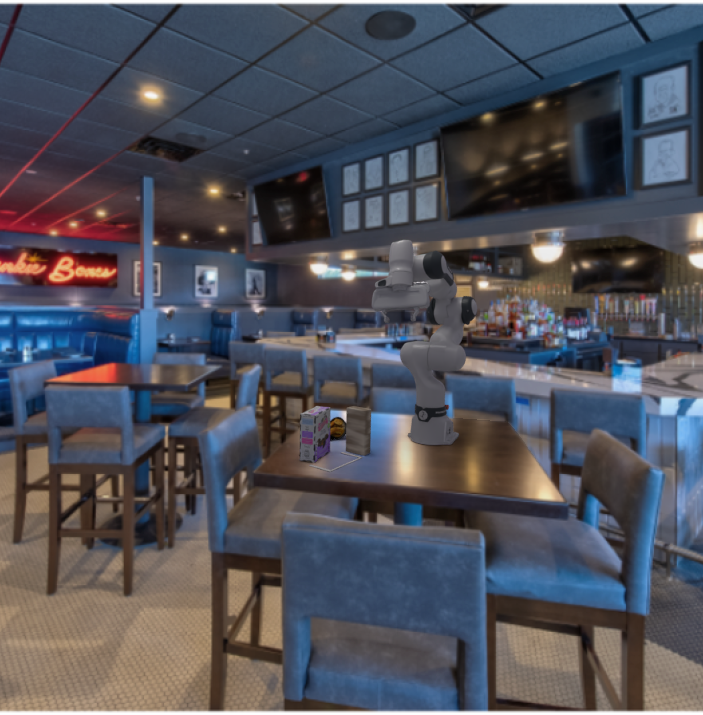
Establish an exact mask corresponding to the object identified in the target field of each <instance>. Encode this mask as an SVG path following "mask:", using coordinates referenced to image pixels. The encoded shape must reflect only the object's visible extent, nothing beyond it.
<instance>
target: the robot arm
mask: <svg viewBox="0 0 703 715" xmlns="http://www.w3.org/2000/svg"><path fill="white" fill-rule="evenodd" d="M388 255H389V256H388V267H389V272H388V275H387V276H386V277H385V278H382V279H380V280H378V281H376V282H375V284H374V287H375V290H374V291H373V293H372V298H371V308H372V309H373V311H375V312H378V313H379V312H381V314H382V316H383V322H384V323H385V324H389V323H390V322H391V321H390V319H391V318H390V317H389V316H387V315H386V314H388V312H390V311H404V310H413V311H414V313H413V314H412V315H410V321H411V322H416V321H417V316H418V315H419V313H420V309H426V319H427V320H428V322H429V323H430V324H431V325H434V326H435V325H436V326H438V325H439V326H440V327H438V328H437V330H436V331H434V333H433V334H432V335H431V336H430V339H429V341H424V340H423V341H422V340H415V341H408V342H405V343H404V344H403V345H402V347H401V349H400V352H399V358H400V361H401V363H402V365H403V366H404V367H406V369H408V371H409V372H410V374H411V376H412V377H413V380H414V382H415V392H416V393H415V394H416V395H415V396H416V397H415V399H416V400H415V404H414V415H413V416H412V417H411V423H410V424H411V425H410V432H409V433H408V434H407V437H408V438H410V441H412V442H414V443H417V444H422V445H426V446H440V445H442V446H445V445H446V446H447V445H448V446H451V445H452V444H453V443H454V442H455V441H456V440H457V439H458V438H459V437H460V434H459V432H456V431H454V421H453V420H452V419H451V418H450V417H449V416H448V415H447V414H448V412H447V411H449V408H450V405H449V404H446V388H445V385H444V383H443V382H442V381H441V380H439V379H437V378H436V377H435V376H434V374H433V371H436V372H437V371H438V372H457V371H460V370H462V368H463V367H464V366H465V363H466V360H467V355H466V350H465V349H464V347H463V346H462V345H460V344H461V342H462V340H463V338H464V337H463V336H464V325H465V326H469V325H470V324H471V322H472V321H473V320H474V319H475V317H477V314H478V305H477V301H476V299H475V298H474V297H473V296H470V295H463V296H456V295H457V293H458V286H457V284H456V282H455V277H454V271H453V270H452V268H451V266H449V264H448V263H447V260H446V258H445V256H444V255H443V254H442V252H440V251H438V250H433V251H429V252H427V253H423V254H418V255H414V245H413V241H412V240H410V239H398V240H394V241H392V243H391V244H390V246H389V254H388ZM430 298H431V299H430Z"/></svg>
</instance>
